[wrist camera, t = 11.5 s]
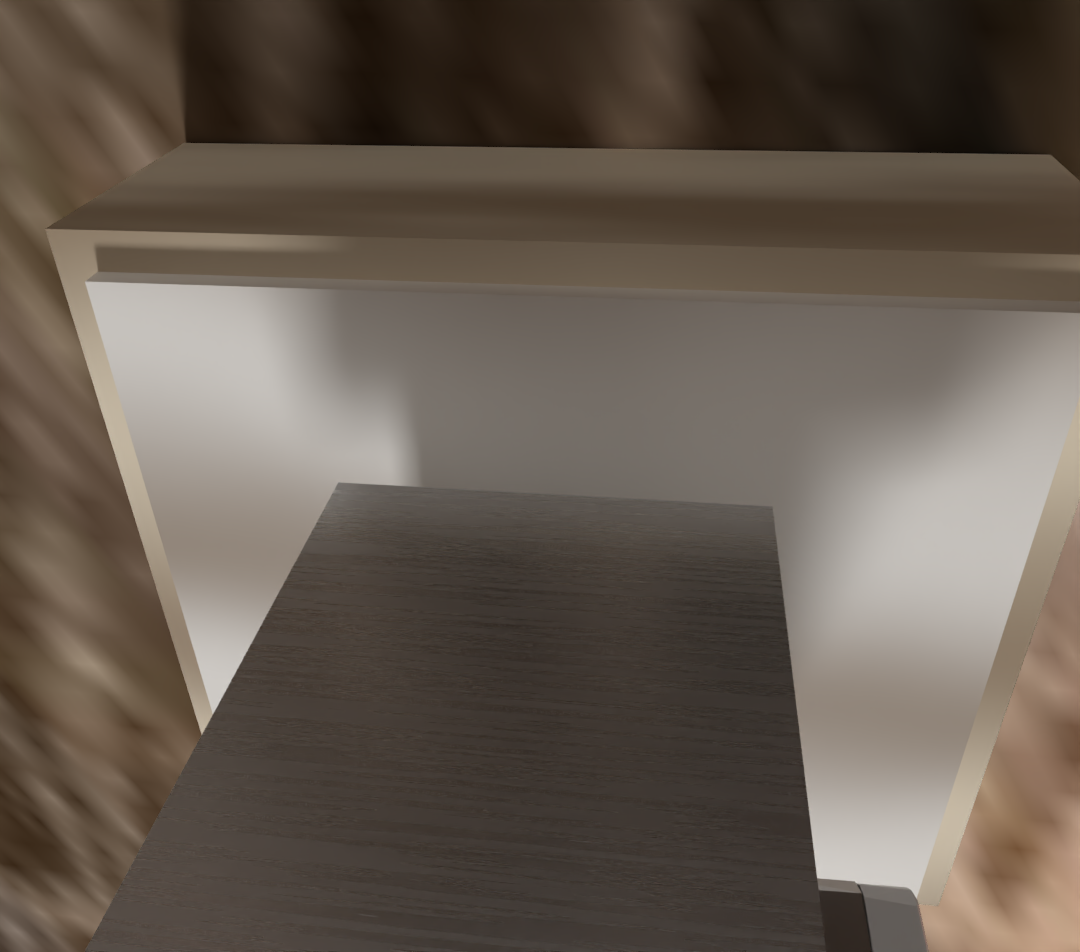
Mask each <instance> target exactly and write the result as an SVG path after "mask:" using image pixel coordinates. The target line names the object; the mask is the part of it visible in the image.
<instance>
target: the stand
mask: <svg viewBox="0 0 1080 952" xmlns="http://www.w3.org/2000/svg"><path fill="white" fill-rule="evenodd" d="M45 230H46V233H47V236H48V239H49V243H50V246H51V249H52V252H53V256H54V259H55V262H56V265H57V268H58V272H59V275H60V278H61V281H62V285H63V288H64V291H65V294H66V298H67V301H68V304H69V307H70V310H71V314H72V317H73V320H74V323H75V327H76V330H77V333H78V336H79V340H80V343H81V346H82V349H83V352H84V356H85V359H86V362H87V365H88V369H89V372H90V375H91V378H92V382H93V385H94V388H95V391H96V394H97V398H98V401H99V404H100V407H101V411H102V414H103V417H104V420H105V423H106V427H107V430H108V433H109V436H110V440H111V443H112V446H113V449H114V453H115V456H116V459H117V462H118V465H119V469H120V472H121V475H122V478H123V482H124V485H125V488H126V491H127V495H128V498H129V501H130V504H131V507H132V511H133V514H134V517H135V520H136V524H137V527H138V530H139V533H140V537H141V540H142V543H143V546H144V549H145V553H146V556H147V559H148V562H149V566H150V569H151V572H152V575H153V578H154V582H155V585H156V588H157V591H158V595H159V598H160V601H161V604H162V608H163V611H164V614H165V617H166V620H167V624H168V627H169V630H170V633H171V637H172V640H173V643H174V646H175V650H176V653H177V656H178V659H179V662H180V666H181V669H182V672H183V675H184V679H185V682H186V685H187V688H188V692H189V695H190V698H191V701H192V704H193V708H194V711H195V714H196V717H197V721H198V724H199V727H200V730H201V733H202V734H203V732H204V730H205V728H206V726H207V725H208V723H209V721H210V719H211V717H212V715H213V713H214V712H215V710H216V708H217V706H218V704H219V702H220V701H221V699H222V697H223V695H224V693H225V691H226V689H227V688H228V686H229V684H230V682H231V680H232V678H233V676H234V675H235V673H236V671H237V669H238V667H239V665H240V664H241V662H242V660H243V658H244V656H245V654H246V652H247V651H248V649H249V647H250V645H251V643H252V641H253V639H254V638H255V636H256V634H257V632H258V630H259V628H260V627H261V625H262V623H263V621H264V619H265V617H266V615H267V614H268V612H269V610H270V608H271V606H272V604H273V602H274V601H275V599H276V597H277V595H278V593H279V591H280V589H281V588H282V586H283V584H284V582H285V580H286V578H287V577H288V575H289V573H290V571H291V569H292V567H293V565H294V564H295V562H296V560H297V558H298V556H299V554H300V552H301V551H302V549H303V547H304V545H305V543H306V541H307V540H308V538H309V536H310V534H311V532H312V530H313V528H314V527H315V525H316V523H317V521H318V519H319V517H320V515H321V514H322V512H323V510H324V508H325V506H326V504H327V503H328V501H329V499H330V497H331V495H332V493H333V491H334V490H335V488H336V486H337V484H338V482H340V483H358V484H376V485H394V486H412V487H430V488H448V489H466V490H484V491H502V492H520V493H538V494H556V495H574V496H592V497H610V498H628V499H646V500H664V501H682V502H700V503H718V504H736V505H754V506H772V507H773V515H774V523H775V532H776V540H777V548H778V557H779V565H780V573H781V582H782V590H783V598H784V607H785V615H786V623H787V632H788V640H789V648H790V656H791V665H792V673H793V681H794V690H795V698H796V706H797V715H798V723H799V731H800V740H801V748H802V756H803V765H804V773H805V781H806V790H807V798H808V806H809V815H810V823H811V831H812V840H813V848H814V856H815V864H816V873H817V878H820V879H832V880H845V881H855V883H860V884H872V885H885V886H897V887H907V888H909V889H910V890H912V892H913V894H914V895H915V897H916V899H917V900H918V904H921V905H931V906H938V905H939V902H940V900H941V897H942V894H943V891H944V888H945V885H946V882H947V879H948V877H949V874H950V871H951V868H952V865H953V862H954V859H955V856H956V854H957V851H958V848H959V845H960V842H961V839H962V836H963V833H964V831H965V828H966V825H967V822H968V819H969V816H970V813H971V810H972V808H973V805H974V802H975V799H976V796H977V793H978V790H979V787H980V785H981V782H982V779H983V776H984V773H985V770H986V767H987V764H988V762H989V759H990V756H991V753H992V750H993V747H994V744H995V741H996V739H997V736H998V733H999V730H1000V727H1001V724H1002V721H1003V718H1004V716H1005V713H1006V710H1007V707H1008V704H1009V701H1010V698H1011V695H1012V693H1013V690H1014V687H1015V684H1016V681H1017V678H1018V675H1019V672H1020V670H1021V667H1022V664H1023V661H1024V658H1025V655H1026V652H1027V649H1028V647H1029V644H1030V641H1031V638H1032V635H1033V632H1034V629H1035V626H1036V624H1037V621H1038V618H1039V615H1040V612H1041V609H1042V606H1043V603H1044V601H1045V598H1046V595H1047V592H1048V589H1049V586H1050V583H1051V580H1052V578H1053V575H1054V572H1055V569H1056V566H1057V563H1058V560H1059V557H1060V555H1061V552H1062V549H1063V546H1064V543H1065V540H1066V537H1067V534H1068V532H1069V529H1070V526H1071V523H1072V520H1073V517H1074V514H1075V511H1076V509H1077V506H1078V503H1079V500H1080V181H1079V180H1078V179H1077V178H1076V177H1075V176H1074V175H1073V174H1072V173H1070V172H1069V171H1068V170H1067V169H1066V168H1065V167H1064V166H1063V165H1062V164H1060V163H1059V162H1058V161H1057V160H1056V159H1055V158H1054V157H1053V156H1052V155H1040V154H966V153H892V152H818V151H744V150H671V149H597V148H523V147H449V146H375V145H301V144H228V143H183V144H182V145H180V146H179V147H177V148H175V149H174V150H172V151H170V152H169V153H167V154H166V155H164V156H162V157H161V158H159V159H157V160H156V161H154V162H153V163H151V164H149V165H148V166H146V167H145V168H143V169H141V170H140V171H138V172H136V173H135V174H133V175H132V176H130V177H128V178H127V179H125V180H124V181H122V182H120V183H119V184H117V185H115V186H114V187H112V188H111V189H109V190H107V191H106V192H104V193H103V194H101V195H99V196H98V197H96V198H94V199H93V200H91V201H90V202H88V203H86V204H85V205H83V206H82V207H80V208H78V209H77V210H75V211H73V212H72V213H70V214H69V215H67V216H65V217H64V218H62V219H61V220H59V221H57V222H56V223H54V224H52V225H51V226H49V227H48V228H46V229H45Z"/></svg>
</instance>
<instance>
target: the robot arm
mask: <svg viewBox="0 0 1080 952" xmlns="http://www.w3.org/2000/svg"><path fill="white" fill-rule="evenodd" d="M817 881H818V889H819V898H820V906H821V914H822V923H823V931H824V939H825V948H826V952H929V950H928V945H927V940H926V936H925V931H924V927H923V922H922V917H921V913H920V908H919V904H918V900H917V899H916V897H915V895H914V894H913V892H912V890H910V889H909V888H907V887H897V886H885V885H872V884H860V883H855V881H845V880H832V879H820V878H817Z"/></svg>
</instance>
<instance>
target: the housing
mask: <svg viewBox="0 0 1080 952" xmlns="http://www.w3.org/2000/svg"><path fill="white" fill-rule="evenodd" d="M85 952H826V948H825V939H824V931H823V923H822V914H821V906H820V898H819V889H818V881H817V873H816V864H815V856H814V848H813V840H812V831H811V823H810V815H809V806H808V798H807V790H806V781H805V773H804V765H803V756H802V748H801V740H800V731H799V723H798V715H797V706H796V698H795V690H794V681H793V673H792V665H791V656H790V648H789V640H788V632H787V623H786V615H785V607H784V598H783V590H782V582H781V573H780V565H779V557H778V548H777V540H776V532H775V523H774V515H773V507H772V506H754V505H736V504H718V503H700V502H682V501H664V500H646V499H628V498H610V497H592V496H574V495H556V494H538V493H520V492H502V491H484V490H466V489H448V488H430V487H412V486H394V485H376V484H358V483H340V482H338V484H337V486H336V488H335V490H334V491H333V493H332V495H331V497H330V499H329V501H328V503H327V504H326V506H325V508H324V510H323V512H322V514H321V515H320V517H319V519H318V521H317V523H316V525H315V527H314V528H313V530H312V532H311V534H310V536H309V538H308V540H307V541H306V543H305V545H304V547H303V549H302V551H301V552H300V554H299V556H298V558H297V560H296V562H295V564H294V565H293V567H292V569H291V571H290V573H289V575H288V577H287V578H286V580H285V582H284V584H283V586H282V588H281V589H280V591H279V593H278V595H277V597H276V599H275V601H274V602H273V604H272V606H271V608H270V610H269V612H268V614H267V615H266V617H265V619H264V621H263V623H262V625H261V627H260V628H259V630H258V632H257V634H256V636H255V638H254V639H253V641H252V643H251V645H250V647H249V649H248V651H247V652H246V654H245V656H244V658H243V660H242V662H241V664H240V665H239V667H238V669H237V671H236V673H235V675H234V676H233V678H232V680H231V682H230V684H229V686H228V688H227V689H226V691H225V693H224V695H223V697H222V699H221V701H220V702H219V704H218V706H217V708H216V710H215V712H214V713H213V715H212V717H211V719H210V721H209V723H208V725H207V726H206V728H205V730H204V732H203V734H202V736H201V738H200V739H199V741H198V743H197V745H196V747H195V749H194V750H193V752H192V754H191V756H190V758H189V760H188V762H187V763H186V765H185V767H184V769H183V771H182V773H181V775H180V776H179V778H178V780H177V782H176V784H175V786H174V787H173V789H172V791H171V793H170V795H169V797H168V799H167V800H166V802H165V804H164V806H163V808H162V810H161V812H160V813H159V815H158V817H157V819H156V821H155V823H154V824H153V826H152V828H151V830H150V832H149V834H148V836H147V837H146V839H145V841H144V843H143V845H142V847H141V849H140V850H139V852H138V854H137V856H136V858H135V860H134V861H133V863H132V865H131V867H130V869H129V871H128V873H127V874H126V876H125V878H124V880H123V882H122V884H121V886H120V887H119V889H118V891H117V893H116V895H115V897H114V898H113V900H112V902H111V904H110V906H109V908H108V910H107V911H106V913H105V915H104V917H103V919H102V921H101V923H100V924H99V926H98V928H97V930H96V932H95V934H94V935H93V937H92V939H91V941H90V943H89V945H88V947H87V948H86V950H85Z"/></svg>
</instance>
